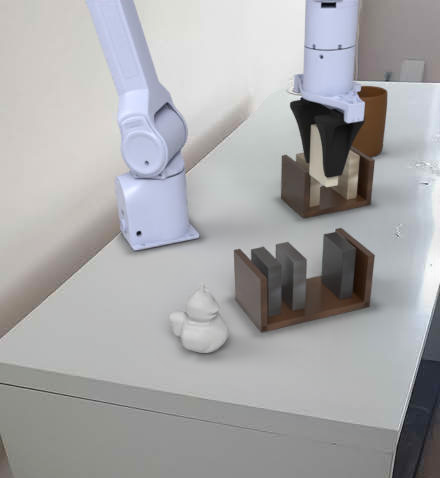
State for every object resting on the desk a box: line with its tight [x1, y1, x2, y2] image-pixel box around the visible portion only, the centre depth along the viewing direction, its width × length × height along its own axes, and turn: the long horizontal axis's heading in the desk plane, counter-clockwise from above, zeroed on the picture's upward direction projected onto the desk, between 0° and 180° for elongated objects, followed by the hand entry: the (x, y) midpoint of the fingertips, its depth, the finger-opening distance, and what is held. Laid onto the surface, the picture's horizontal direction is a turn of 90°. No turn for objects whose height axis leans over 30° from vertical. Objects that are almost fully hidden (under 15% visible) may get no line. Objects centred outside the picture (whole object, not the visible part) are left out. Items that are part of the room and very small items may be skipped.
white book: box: [309, 124, 338, 187], centre depth 88 cm, size 2×5×6 cm, turn 20°
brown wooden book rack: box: [280, 146, 376, 219], centre depth 104 cm, size 11×8×7 cm
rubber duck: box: [168, 280, 230, 354], centre depth 75 cm, size 5×7×8 cm
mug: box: [352, 85, 389, 158], centre depth 119 cm, size 12×8×9 cm, turn 75°
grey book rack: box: [233, 227, 376, 333], centre depth 82 cm, size 14×8×7 cm, turn 110°
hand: (323, 168), depth 89 cm, fingers closed on white book, 5 cm apart
